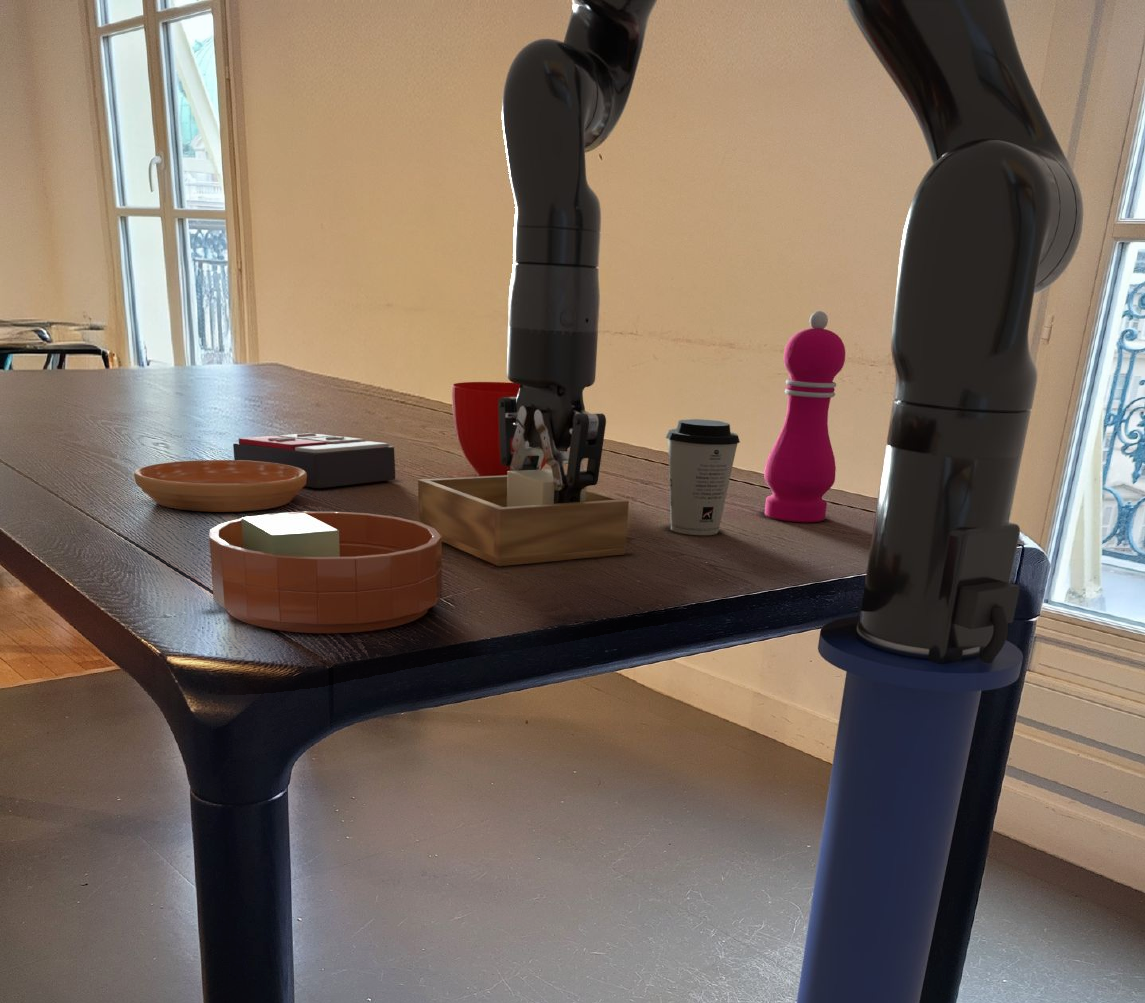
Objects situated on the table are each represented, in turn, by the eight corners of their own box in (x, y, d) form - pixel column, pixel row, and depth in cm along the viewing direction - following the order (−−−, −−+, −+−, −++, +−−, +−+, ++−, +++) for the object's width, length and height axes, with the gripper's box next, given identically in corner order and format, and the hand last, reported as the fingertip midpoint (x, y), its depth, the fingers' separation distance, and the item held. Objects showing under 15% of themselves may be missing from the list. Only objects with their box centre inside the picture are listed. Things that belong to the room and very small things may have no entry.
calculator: (311, 430, 135) (395, 439, 126) (313, 468, 136) (397, 479, 127) (230, 436, 127) (314, 446, 118) (234, 475, 129) (317, 488, 119)
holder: (625, 554, 99) (629, 500, 97) (498, 566, 92) (499, 509, 90) (536, 522, 110) (538, 473, 108) (418, 531, 103) (417, 479, 102)
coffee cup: (726, 540, 106) (737, 429, 103) (652, 533, 108) (661, 423, 104) (734, 526, 113) (745, 421, 109) (664, 520, 114) (672, 416, 110)
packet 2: (583, 537, 101) (587, 479, 99) (540, 541, 99) (542, 482, 97) (548, 524, 106) (550, 468, 104) (505, 527, 103) (507, 470, 101)
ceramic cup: (443, 489, 124) (443, 392, 120) (455, 465, 140) (456, 379, 136) (562, 494, 125) (566, 399, 121) (561, 470, 140) (565, 385, 136)
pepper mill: (801, 526, 115) (828, 312, 107) (745, 513, 120) (767, 308, 112) (843, 519, 119) (872, 313, 112) (788, 507, 124) (812, 309, 116)
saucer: (138, 487, 116) (135, 457, 115) (299, 487, 121) (297, 458, 120) (135, 518, 102) (131, 484, 101) (317, 516, 107) (315, 484, 106)
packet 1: (341, 605, 76) (339, 530, 75) (275, 612, 74) (272, 535, 72) (308, 584, 81) (305, 513, 79) (245, 590, 79) (241, 517, 77)
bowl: (479, 621, 77) (480, 547, 75) (259, 648, 69) (254, 567, 68) (384, 571, 89) (383, 506, 87) (186, 589, 81) (180, 518, 79)
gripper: (640, 331, 92) (625, 539, 99) (546, 320, 103) (538, 508, 109) (561, 329, 88) (551, 546, 95) (472, 318, 99) (469, 513, 106)
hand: (544, 525), depth 102 cm, fingers closed on packet 2, 6 cm apart
